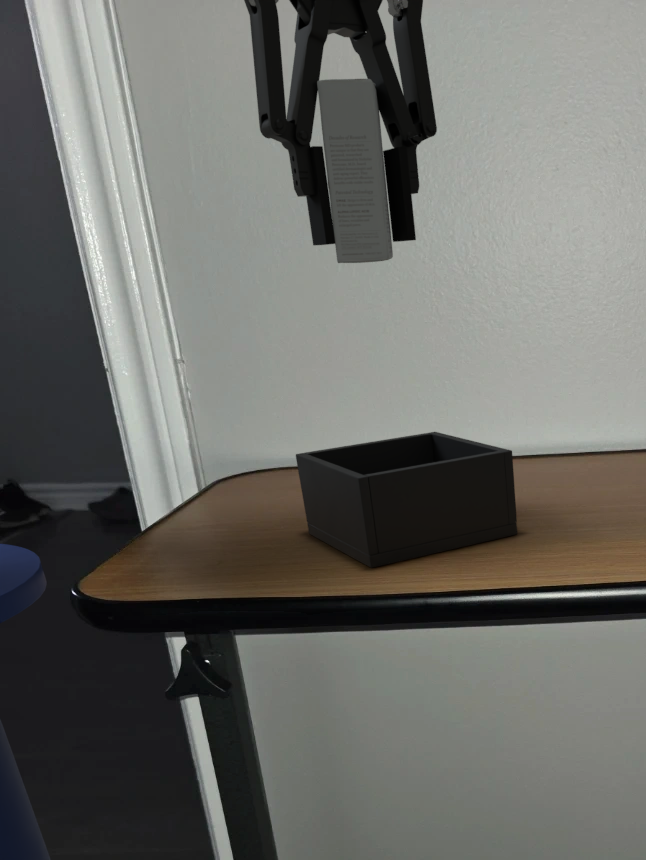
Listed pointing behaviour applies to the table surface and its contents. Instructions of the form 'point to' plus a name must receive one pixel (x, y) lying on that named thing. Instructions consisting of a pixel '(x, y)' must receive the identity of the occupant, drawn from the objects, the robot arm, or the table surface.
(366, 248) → the cosmetic box
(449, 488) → the basket
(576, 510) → the table surface
